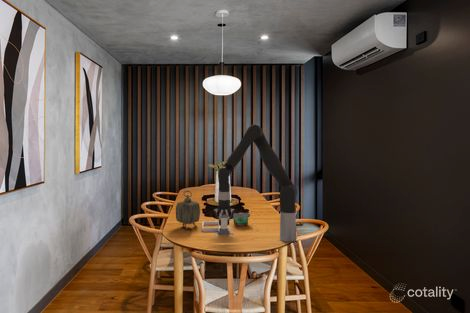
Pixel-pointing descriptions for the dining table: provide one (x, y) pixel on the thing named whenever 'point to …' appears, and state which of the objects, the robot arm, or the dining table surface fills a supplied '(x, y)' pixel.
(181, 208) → the tabletop clock
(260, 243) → the dining table surface
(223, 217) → the fuse
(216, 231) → the fuse block
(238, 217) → the food container
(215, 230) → the parts tray
